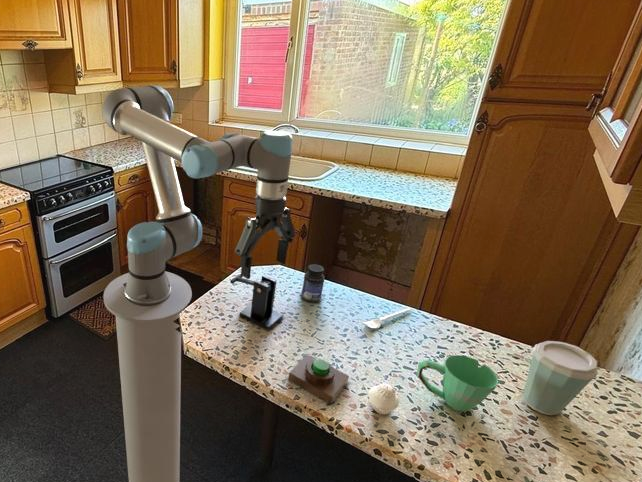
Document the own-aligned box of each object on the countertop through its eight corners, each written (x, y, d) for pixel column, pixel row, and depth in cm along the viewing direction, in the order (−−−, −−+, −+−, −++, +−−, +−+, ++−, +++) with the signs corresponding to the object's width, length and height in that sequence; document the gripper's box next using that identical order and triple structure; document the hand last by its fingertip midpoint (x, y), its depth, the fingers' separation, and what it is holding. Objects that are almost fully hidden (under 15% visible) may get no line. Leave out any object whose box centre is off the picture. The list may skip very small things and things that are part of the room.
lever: (230, 285, 121) (229, 278, 120) (240, 278, 124) (239, 271, 124) (264, 294, 113) (263, 287, 112) (273, 287, 116) (273, 280, 115)
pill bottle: (324, 301, 127) (330, 271, 122) (307, 304, 126) (312, 274, 121) (313, 290, 133) (319, 262, 128) (297, 293, 131) (302, 264, 126)
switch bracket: (239, 315, 121) (242, 279, 115) (254, 304, 126) (258, 269, 120) (268, 330, 114) (273, 293, 109) (282, 318, 120) (288, 282, 114)
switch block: (288, 379, 98) (290, 366, 96) (305, 360, 104) (308, 348, 102) (331, 404, 91) (334, 391, 89) (347, 382, 97) (350, 370, 95)
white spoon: (414, 313, 122) (415, 308, 121) (367, 332, 114) (369, 327, 113) (404, 307, 124) (406, 303, 123) (358, 325, 116) (360, 320, 116)
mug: (477, 394, 94) (492, 362, 89) (487, 427, 86) (504, 394, 81) (407, 375, 99) (418, 344, 95) (410, 405, 91) (422, 372, 87)
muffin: (381, 395, 94) (388, 373, 90) (401, 416, 88) (409, 393, 85) (359, 401, 92) (365, 378, 89) (377, 423, 87) (385, 400, 84)
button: (309, 370, 96) (310, 364, 95) (316, 362, 98) (317, 356, 97) (323, 377, 94) (325, 372, 93) (330, 369, 96) (331, 364, 95)
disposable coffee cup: (534, 423, 87) (564, 371, 80) (498, 385, 97) (523, 336, 90) (583, 423, 87) (617, 372, 80) (542, 385, 97) (570, 336, 90)
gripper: (244, 210, 90) (239, 289, 100) (315, 189, 103) (304, 261, 112) (223, 201, 96) (219, 277, 105) (292, 182, 109) (284, 251, 118)
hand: (263, 269), depth 109 cm, fingers open, 13 cm apart
